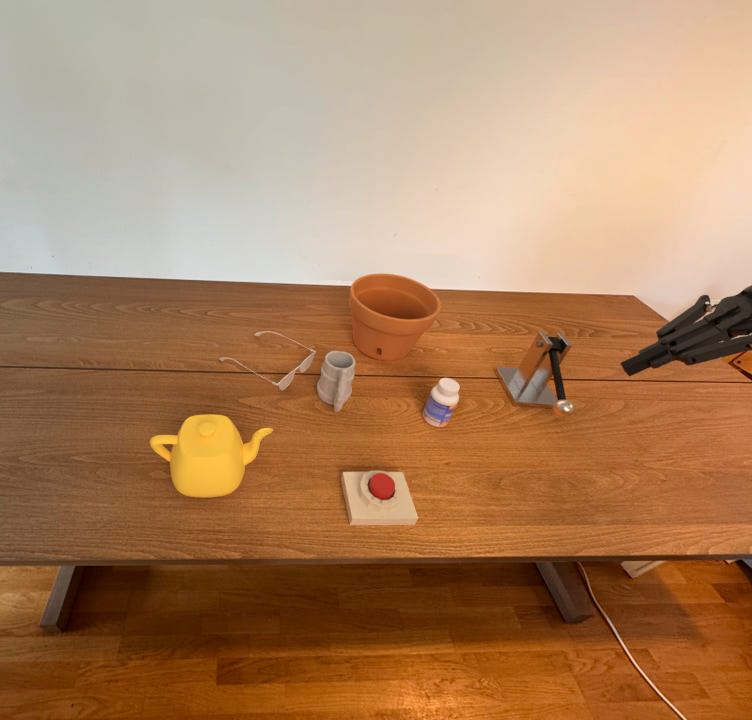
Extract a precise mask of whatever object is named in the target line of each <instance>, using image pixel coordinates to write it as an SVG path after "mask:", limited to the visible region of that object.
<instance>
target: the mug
mask: <svg viewBox="0 0 752 720" xmlns="http://www.w3.org/2000/svg"><path fill="white" fill-rule="evenodd" d="M355 367H356V360H355V358H354V356H353V355H352V354H351V353H349V352H347V351H341V350H331V351H329V352H327V353H326V355H325V356H324V361H323V363H322V365H321V368H320V377H319V380H318V381H317V383H316V391H317V397H319V399H320V400H321V401H322V402H323V403H325V404H327V405H331V406H333V411H334V412H335V413H339V412H340V411H341V410H342V409H343V405H344V404H345V403H347V402H348V400H349V398H351V396H352V393H353V388H352V384H353V380H354V378H355V374H356V372H355Z"/></svg>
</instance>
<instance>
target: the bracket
mask: <svg viewBox="0 0 752 720" xmlns="http://www.w3.org/2000/svg"><path fill="white" fill-rule="evenodd" d="M548 337H549V336H548V335H547V334H546V333H545V332H544V331H540V330H539V331H538V332H537V334H536V336H535V338H534V340H533V342H531V345H530V346H529V348H528V350H527V352H526V354H525V355H524V357H523V359H522V360H521V363H520V364H519V366H518V367H505V366H504V367H503V366H495V368H494V373H495V375H496V377H497V378H498V380H499V382H500V384H501V386H502V388H503V390H504V391H505V393H506V395H507V396H508V398H509V401H510V402H511V404H512V406H513V407H525V408H536V409H548V410H549V409H551V410H553V405H554V403H555V402H556V401H558V399H557V396H556V395H555V394H554V392H553V391H552V390H551V388H550V387H549V385H548V384H549V382H550V381H551V379H552V378H553V373H552V367H551V362H550V357H549V353H548V351H549V350H550V348H551V346H552V345H553V343H552V342H551V341H550V339H549V338H548ZM555 337H559V341H560V346H561V349H560V350H559V351H557V355H558V361H559V366H561V364H562V362H563V361H564V360H565V358H566V356H567V354H568V353H569V351H570V350H571V348H572V347H573V344H572V343H571V342H570V341H569V340H568V338H567V337H566V336H565V334H563V332H557V333H556V335H555Z"/></svg>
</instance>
